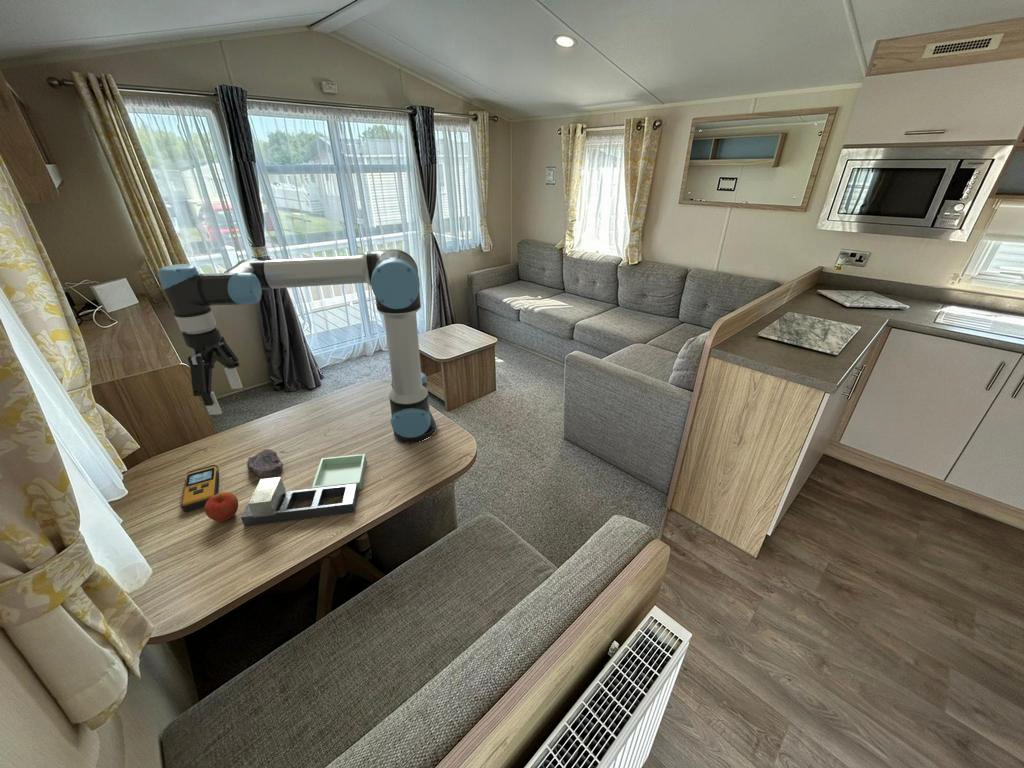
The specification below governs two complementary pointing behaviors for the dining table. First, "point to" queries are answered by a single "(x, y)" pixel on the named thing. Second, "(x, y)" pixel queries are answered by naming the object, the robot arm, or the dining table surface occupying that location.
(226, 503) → the apple
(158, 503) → the dining table surface
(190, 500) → the electronic device
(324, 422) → the dining table surface
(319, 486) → the tray
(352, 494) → the rail
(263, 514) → the white rectangular block
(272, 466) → the rock
